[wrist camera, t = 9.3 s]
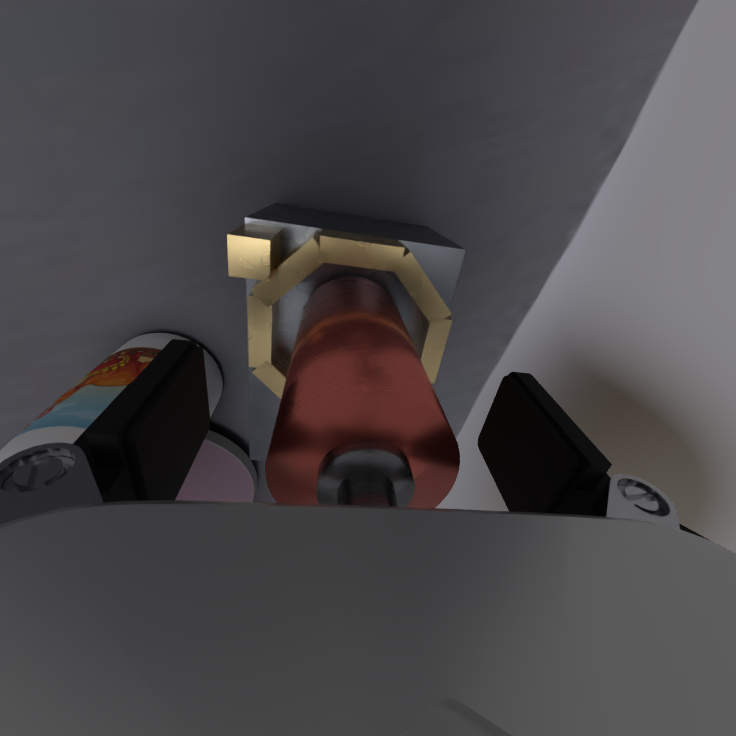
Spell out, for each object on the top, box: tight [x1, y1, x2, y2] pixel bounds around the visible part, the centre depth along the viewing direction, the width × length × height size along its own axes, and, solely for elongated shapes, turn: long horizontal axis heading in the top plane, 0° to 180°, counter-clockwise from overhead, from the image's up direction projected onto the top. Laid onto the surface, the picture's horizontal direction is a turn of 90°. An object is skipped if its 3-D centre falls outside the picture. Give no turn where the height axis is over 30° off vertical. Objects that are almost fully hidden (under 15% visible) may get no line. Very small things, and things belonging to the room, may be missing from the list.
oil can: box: [265, 277, 460, 508], centre depth 12 cm, size 5×5×13 cm
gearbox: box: [227, 203, 466, 461], centre depth 21 cm, size 14×11×11 cm
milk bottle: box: [0, 333, 223, 463], centre depth 18 cm, size 8×8×20 cm
